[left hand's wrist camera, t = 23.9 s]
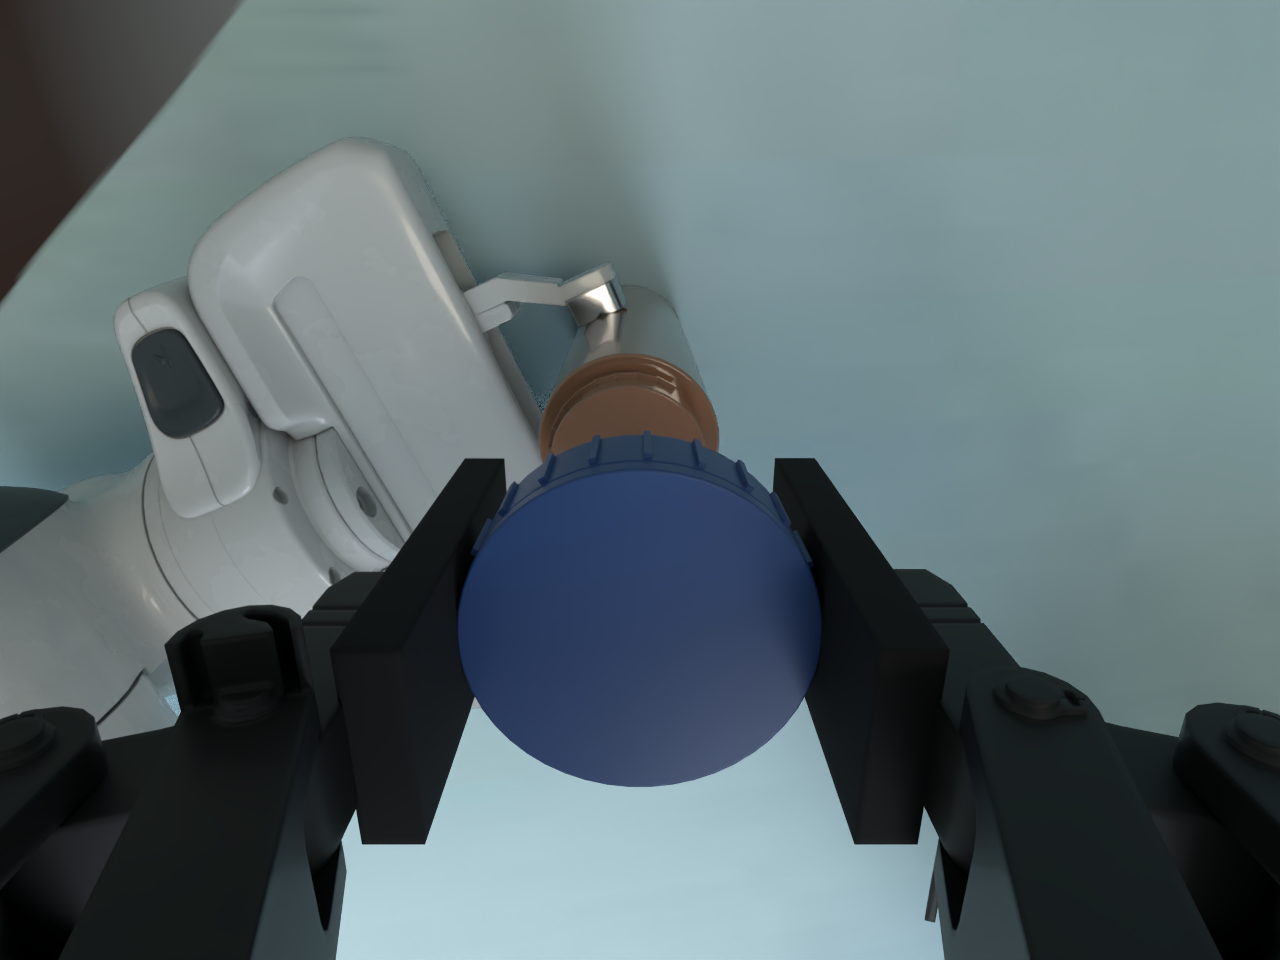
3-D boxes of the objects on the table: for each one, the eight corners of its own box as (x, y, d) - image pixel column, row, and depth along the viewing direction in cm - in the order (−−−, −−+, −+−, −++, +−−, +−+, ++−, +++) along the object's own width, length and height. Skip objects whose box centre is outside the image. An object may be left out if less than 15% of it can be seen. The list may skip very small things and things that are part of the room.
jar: (558, 322, 32) (491, 433, 16) (646, 264, 31) (661, 326, 16) (614, 407, 33) (600, 582, 18) (700, 354, 32) (761, 490, 17)
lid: (857, 489, 11) (891, 533, 10) (732, 755, 13) (744, 828, 12) (526, 381, 11) (507, 410, 9) (441, 674, 13) (413, 739, 11)
